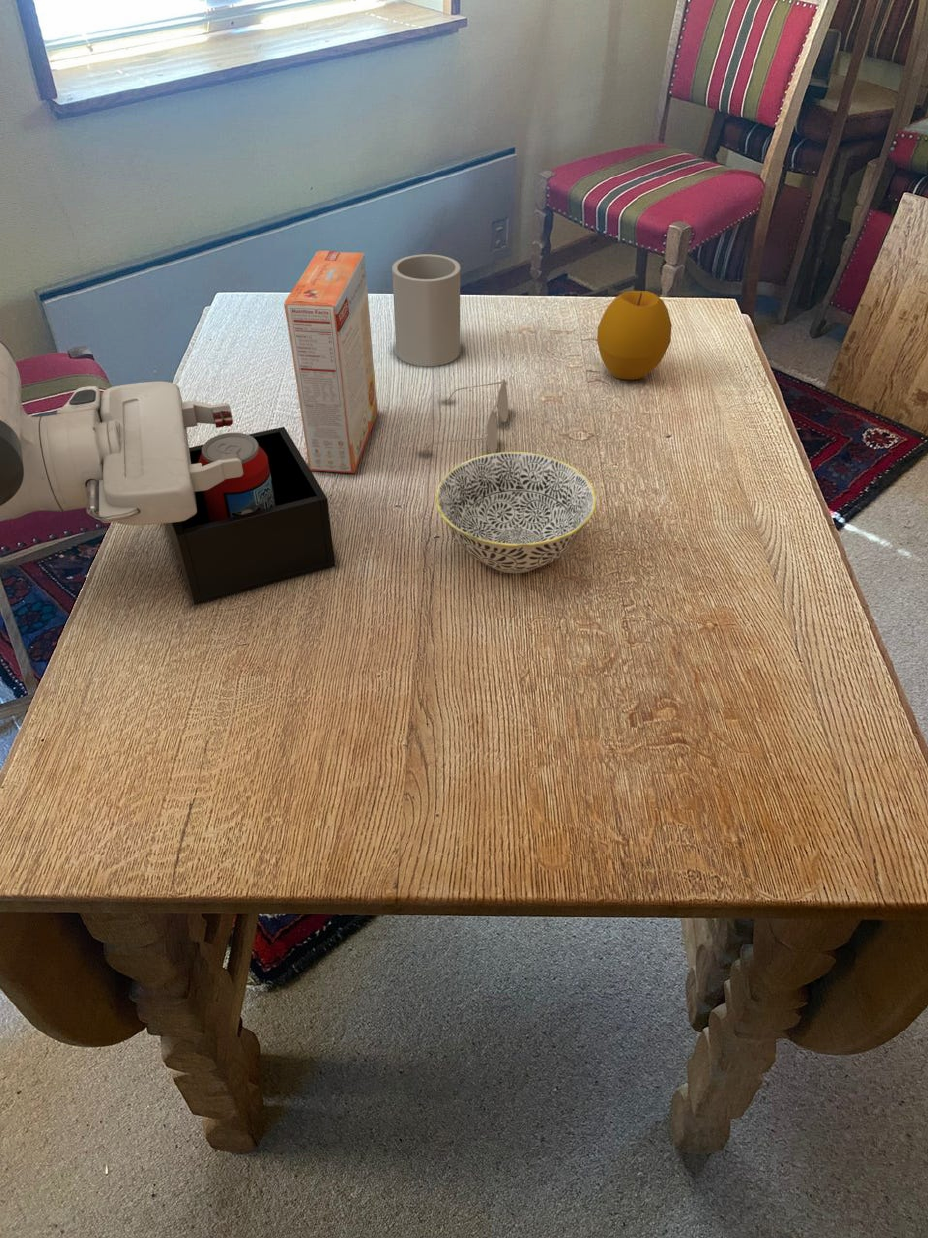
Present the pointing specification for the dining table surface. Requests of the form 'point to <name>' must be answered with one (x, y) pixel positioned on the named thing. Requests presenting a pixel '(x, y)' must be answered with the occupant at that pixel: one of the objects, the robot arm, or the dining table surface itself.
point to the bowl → (515, 508)
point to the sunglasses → (490, 417)
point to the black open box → (258, 530)
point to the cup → (427, 309)
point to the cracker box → (333, 359)
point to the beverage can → (238, 478)
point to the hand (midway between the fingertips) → (236, 438)
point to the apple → (634, 334)
